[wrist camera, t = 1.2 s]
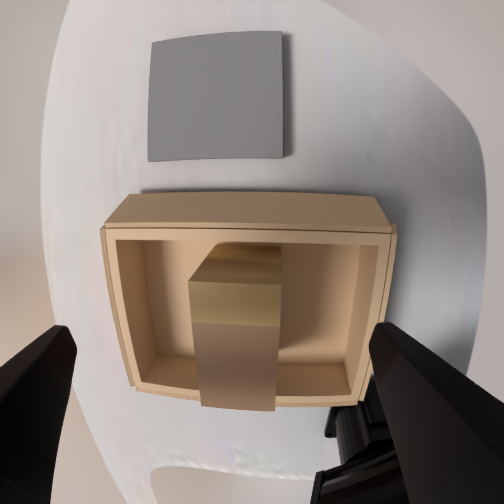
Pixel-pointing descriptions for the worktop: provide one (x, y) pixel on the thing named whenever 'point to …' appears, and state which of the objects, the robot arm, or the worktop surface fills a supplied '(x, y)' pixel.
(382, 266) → the carton
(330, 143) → the worktop surface
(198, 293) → the block
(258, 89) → the mat
